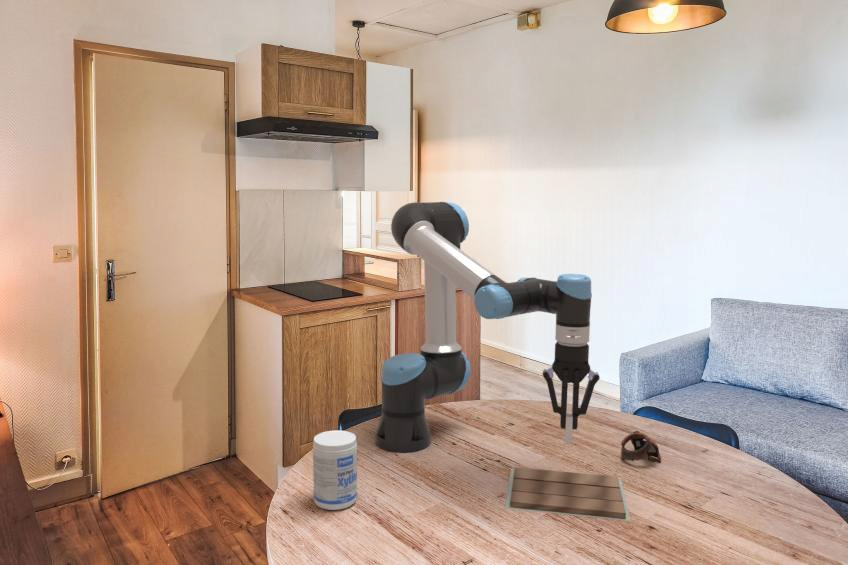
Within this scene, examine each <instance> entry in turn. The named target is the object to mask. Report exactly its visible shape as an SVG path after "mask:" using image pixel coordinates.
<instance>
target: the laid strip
mask: <svg viewBox="0 0 848 565" xmlns="http://www.w3.org/2000/svg"><path fill="white" fill-rule="evenodd" d="M510 507H518V508H528V509H538V510H548V511H557V512H567V513H577V514H587V515H596V516H606V517H616V518H626V512H625V507H624V503H623V502H620V501H610V500H600V499H590V498H579V497H569V496H559V495H549V494H539V493H528V492H518V491H512V492H511V500H510Z"/></svg>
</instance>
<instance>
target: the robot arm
mask: <svg viewBox="0 0 848 565" xmlns="http://www.w3.org/2000/svg"><path fill="white" fill-rule="evenodd" d="M390 223H391V224H390V230H391V236H392V237H393V239H394V241H395V242H396V244H397V245H398V246H399V247H400V248H401V249H402V250H403V251H404V252H406V253H407V254H408V255H411V256H417V257H419V258H420V259H421V260H423V261H424V264H423V265H424V269H423V270H424V311H425V312H424V313H425V314H424V318H425V319H424V320H425V321H424V322H425V342H424V344H422V345H421V347H420V353H416V352H415V353H413V352H408V353H400V354H395V355H393V356H390V357H389V358H387V359H386V360H385V361H384V362H383V365H382V368H381V369H382V370H381V379H380V380H381V416H380V419H379V422H378V425H377V427H376V431H375V444H376V446H378V447H379V448H381V449H382V450H386V451H389V452H396V453H407V452H408V453H411V452H416V451H420V450H424V449H425V448H427V447H428V446H430V444H431V443H432V433H431V432H432V431H431V430H430V426H429V422H428V420H427V417H426V415H425V414H426V412H425V410H426V409H425V408H426V401H427V400H431V399H434V398H438V397H442V396H446V395H452V394H454V393H456V392H458V391H461V390H462V389H464V388H465V387H466V385H467V384H468V382H469V380H470V379H471V378H470V377H471V363H470V360H468V356H467V355H466V354H465V353H464V352H463V351H462V345H460V344H459V343H458V342H457V315H456V314H457V312H456V311H457V310H456V309H457V307H456V304H457V303H456V301H457V300H456V287H457V288H459V289H460V290H461V291H462V292H464V294H466V295H468V296H469V297H470V298H471V299H473V300H474V301H473V302H474V307H475V309H476V310H477V313H478V315H479V316H480V317H482V318H484V319H486V320H499V319H500V320H501V319H504V318H508V317H509V318H510V317H513V316H518V315H523V314H524V315H525V314H530V313H536V312H541V313H548V314H552V315H555V336H554V338H555V341H556V343H555V344H554V361H553V362H552V365H551V367H549V368H548V369H543V370H542V376H543V379H544V380H545V381H546V384H547V388H548V393H549V398H550V403H551V406H552V411H553V413H555V414H559V415H560V421H559V422H560V423H559V425H560V429H562V430H564V444H566V445H573V444H572V443H573V430H576V431H577V429H578V419H579V416H580V415H586V413H587V411H588V408H589V405H590V401H591V398H592V395H593V392H594V389H595V386H596V384H597V383H598V381H599V380H600V374H599V372H597V371H596V372H595V371H594V370H592V369H591V365H590V363H589V357H590V356H589V354H590V345H589V344H588V343H589V342H590V328H591V323H590V322H591V321H590V320H591V307H592V306H591V305H592V297H593V294H592V280H591V278H590V277H589V276H588V275H586V274H580V273H564V274H563V273H562V274H559V275H558V277H557V280H555V281H554V280H547V279H543V278H542V279H541V278H537V277H520V278H519V279H517V281H513V282H507V281H504V280H503V279H501V278H500V277H499V276H497V275H496V274H494V273H493V272H492V271H490V270H489V269H487V268H486V267H485V266H483V265H482V264H481V263H480V262H478V261H477V260H476V259H474V258H473V257H471V256H470V255H468V254H467V253H465V252H464V251H463V250H461V244H462V243H463V242H464V241H466V239H467V237H468V235H469V232H470V223H469V219H468V215H467V214H466V212H465V210H463V208H462V207H461V206H460V205H458V204H456V203H454V202H446V201H436V202H435V201H434V202H433V201H432V202H430V201H429V202H417V201H416V202H409V203H407V204H404V205H402V206H400V208H398V210H397V211H396V212H395V213H394V214H393V217H392V219H391V222H390ZM554 373H555V375H556V376H557V378H558V379H559V380H560V382H561V391H560V392H561V393H560V394H561V398H560V405H559V404H558V399H557V396H556V390H555V386H554V381H553V378H554ZM586 377H587V379H588V382H587V385H586V388H585V392H584V394H583V398H582V401H581V405H580V407H579V404H580V403H579V400H580V399H579V398H580V383H581V382H582V381H583V380H584V379H585V378H586ZM570 383H571V384H572V405H571V406H572V407H571V409H572V410H571V412H567V407H568V404H567V403H568V386H569V384H570Z"/></svg>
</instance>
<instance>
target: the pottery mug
mask: <svg viewBox="0 0 848 565" xmlns="http://www.w3.org/2000/svg"><path fill="white" fill-rule="evenodd" d="M629 441H630V442H631V444H632V446H633V449H634V450H629V449H627V448H626V447H625V446H626V445H627V443H629ZM620 445H621V450H620V457H621V460H623V461H625V460H626V461H632V462H634V461H639V460H642V459H643V460H647V461H648V460H649V459H648V458H649V457H653V458H656V459H657V460H658V462H659V464H660V463H662V456H661V453H660V450H659V447H658V444H657V443H656V441H654V439H652V438H650V437H649V436H648V435H646V434H645V433H644V432H640V431H639V430H636V431H633V432H632V433H631V434H628V435H626V436H625V437H624V438H623V439H622V440H621V444H620Z"/></svg>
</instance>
